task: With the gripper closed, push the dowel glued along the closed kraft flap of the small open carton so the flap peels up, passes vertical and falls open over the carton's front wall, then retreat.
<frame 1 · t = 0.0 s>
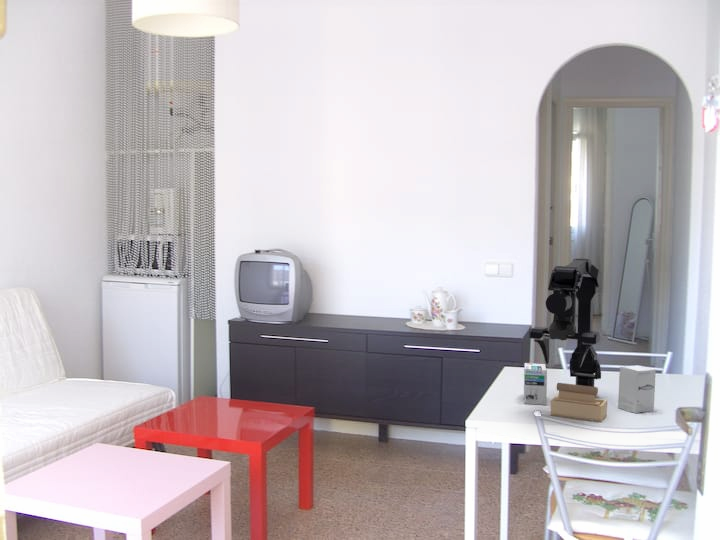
hand: (563, 365, 216), 15 cm above the table, fingers open, 9 cm apart
carton: (578, 415, 218), on the table
flap: (576, 393, 215), point 7 cm above the table, hinge at -0.1°
supplement box: (635, 410, 226), on the table
light bulb box: (534, 401, 235), on the table
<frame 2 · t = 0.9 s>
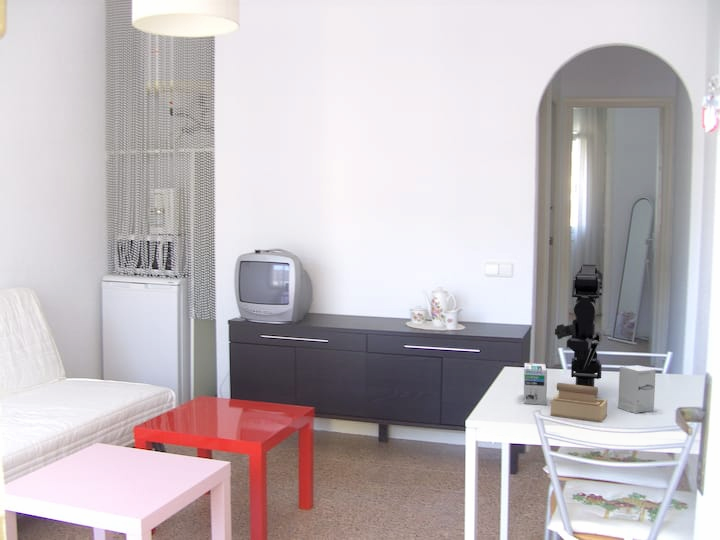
hand: (583, 368, 225), 12 cm above the table, fingers open, 6 cm apart
nothing on the table moved.
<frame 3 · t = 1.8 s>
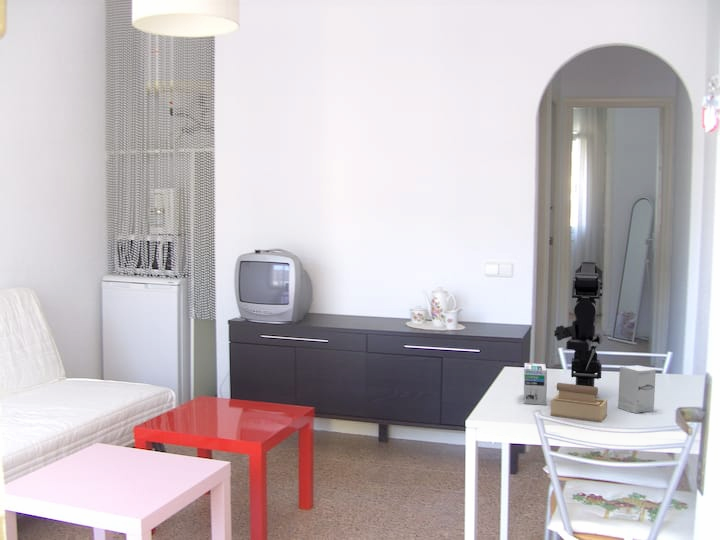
hand: (583, 370, 221), 12 cm above the table, fingers closed
nothing on the table moved.
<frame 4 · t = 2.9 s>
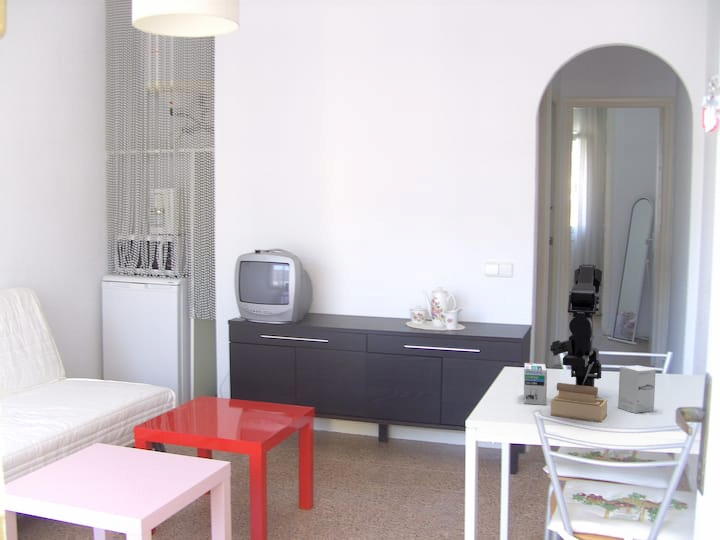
hand: (580, 386, 218), 8 cm above the table, fingers closed
nothing on the table moved.
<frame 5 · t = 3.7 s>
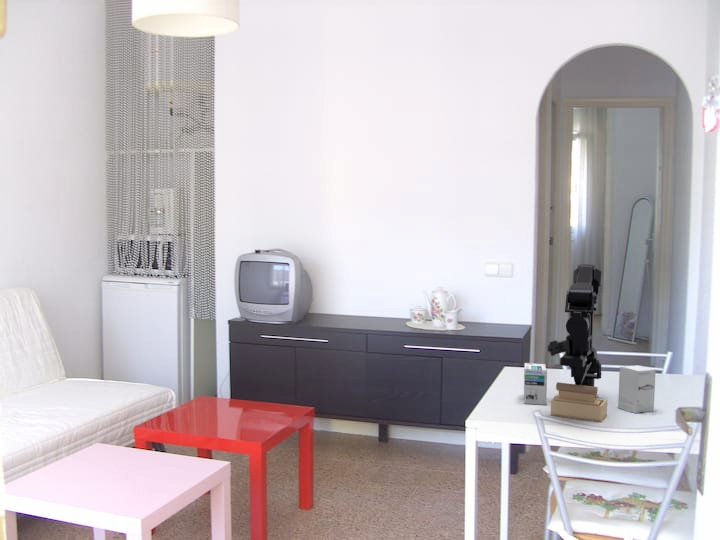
hand: (577, 386, 215), 9 cm above the table, fingers closed
flap: (576, 392, 214), point 7 cm above the table, hinge at 8.9°, touching gripper
everything else where it was.
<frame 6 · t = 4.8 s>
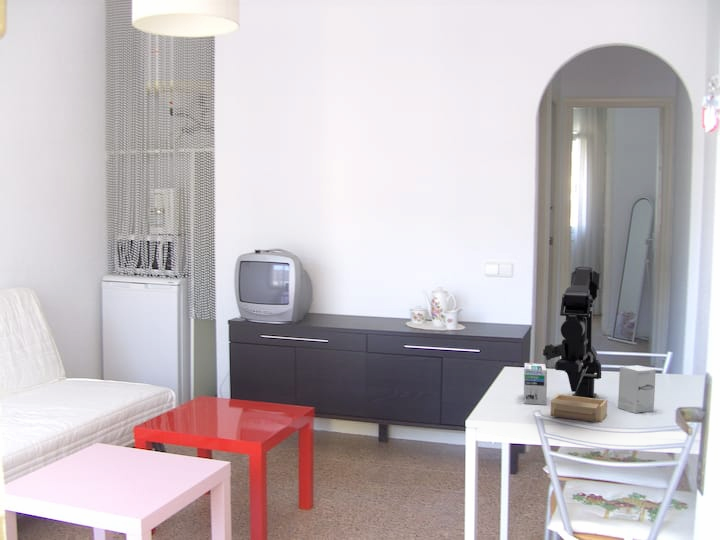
hand: (573, 391, 211), 8 cm above the table, fingers closed
flap: (574, 410, 213), point 3 cm above the table, hinge at 192.9°, touching carton
everything else where it was.
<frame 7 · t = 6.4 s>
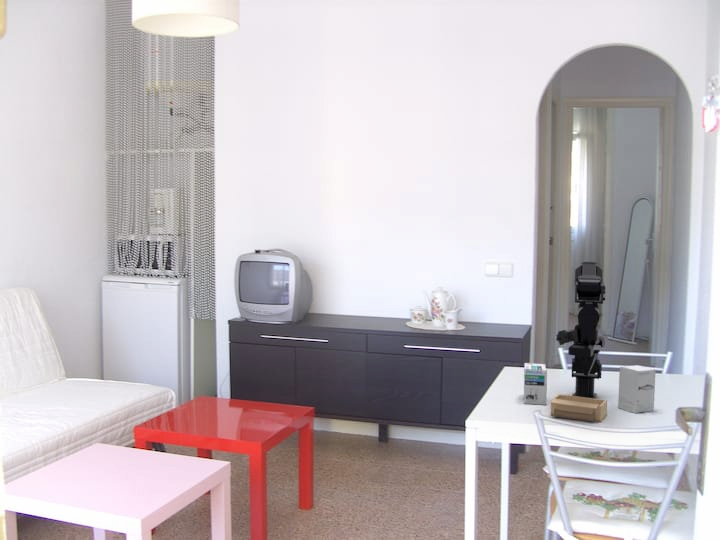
hand: (586, 375, 219), 11 cm above the table, fingers closed
nothing on the table moved.
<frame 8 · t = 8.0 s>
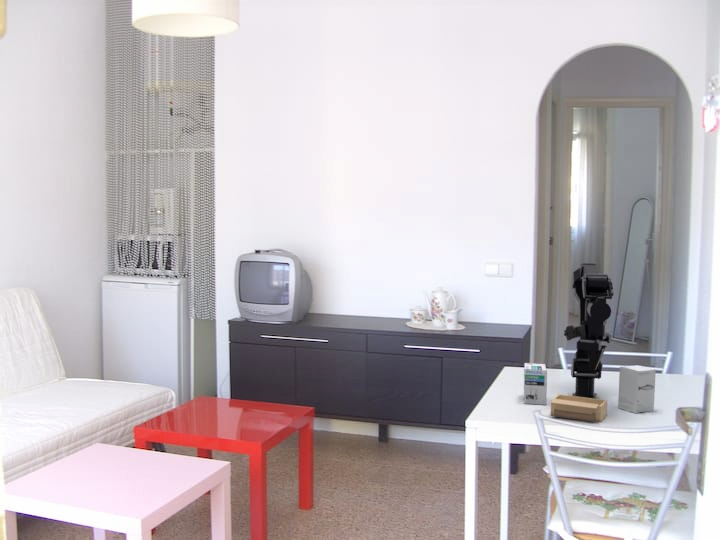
hand: (593, 370, 223), 12 cm above the table, fingers closed
nothing on the table moved.
at the end: flap at +193° (first picture: +0°); the gripper is holding nothing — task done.
